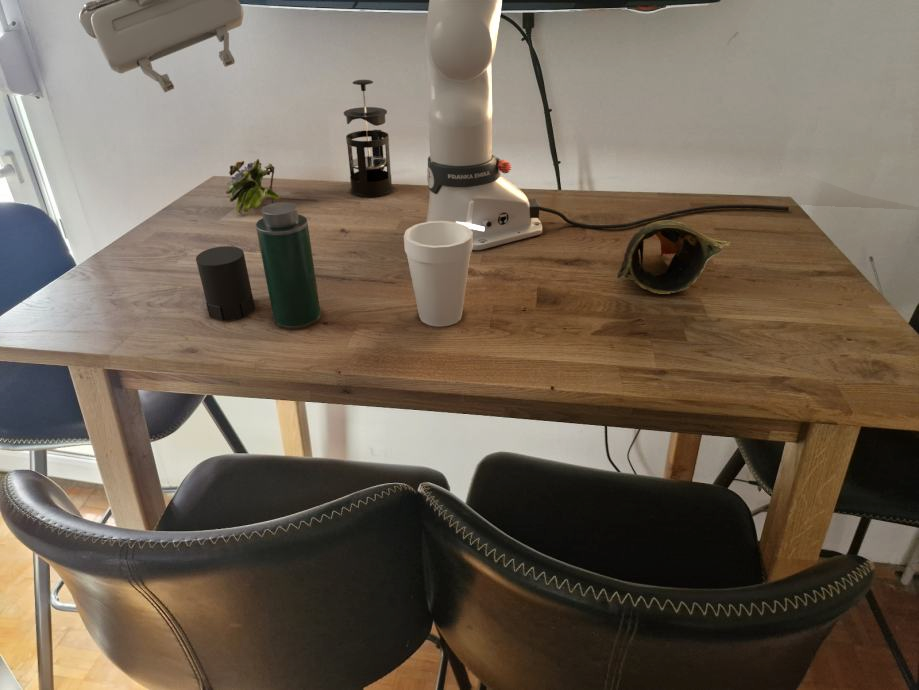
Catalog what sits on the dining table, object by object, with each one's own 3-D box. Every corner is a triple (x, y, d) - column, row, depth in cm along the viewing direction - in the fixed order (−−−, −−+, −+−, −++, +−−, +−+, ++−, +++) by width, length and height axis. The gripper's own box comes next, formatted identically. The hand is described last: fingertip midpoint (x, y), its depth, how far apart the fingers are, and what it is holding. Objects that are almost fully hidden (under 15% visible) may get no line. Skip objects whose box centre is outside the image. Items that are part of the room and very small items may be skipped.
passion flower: (248, 227, 140) (246, 173, 141) (293, 221, 137) (291, 166, 138) (215, 214, 129) (214, 155, 130) (263, 207, 126) (261, 147, 127)
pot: (691, 200, 110) (726, 203, 93) (707, 262, 113) (744, 277, 95) (593, 232, 113) (609, 241, 95) (610, 293, 115) (629, 313, 98)
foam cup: (449, 338, 90) (447, 253, 83) (396, 321, 94) (390, 238, 87) (483, 310, 97) (484, 228, 90) (432, 295, 101) (429, 216, 94)
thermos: (316, 303, 99) (301, 196, 90) (324, 324, 94) (308, 213, 85) (271, 311, 97) (250, 203, 88) (276, 333, 92) (255, 220, 83)
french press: (383, 200, 138) (375, 86, 126) (342, 196, 140) (330, 84, 128) (401, 183, 147) (394, 75, 135) (362, 180, 149) (353, 74, 137)
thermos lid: (252, 296, 101) (241, 243, 97) (256, 316, 96) (245, 260, 91) (208, 303, 99) (195, 250, 95) (210, 324, 94) (196, 268, 89)
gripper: (67, -2, 84) (128, 98, 87) (212, -54, 90) (264, 42, 93) (76, 18, 90) (133, 111, 93) (212, -32, 96) (261, 57, 99)
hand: (200, 76), depth 93 cm, fingers open, 8 cm apart
